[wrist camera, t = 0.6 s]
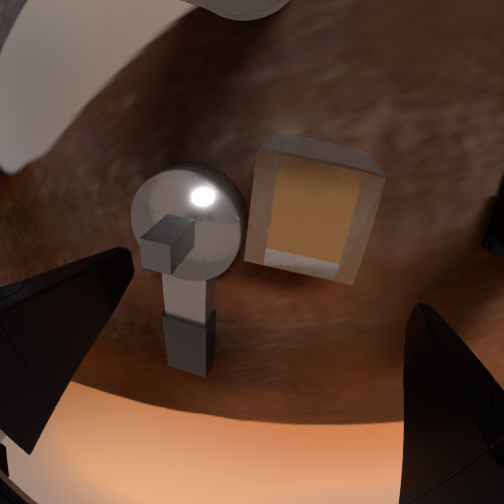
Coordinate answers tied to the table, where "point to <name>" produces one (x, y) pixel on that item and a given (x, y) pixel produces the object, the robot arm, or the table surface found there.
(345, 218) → the grey brown boxy block
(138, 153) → the table surface
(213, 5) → the cup
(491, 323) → the table surface
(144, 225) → the ratchet
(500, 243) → the robot arm
